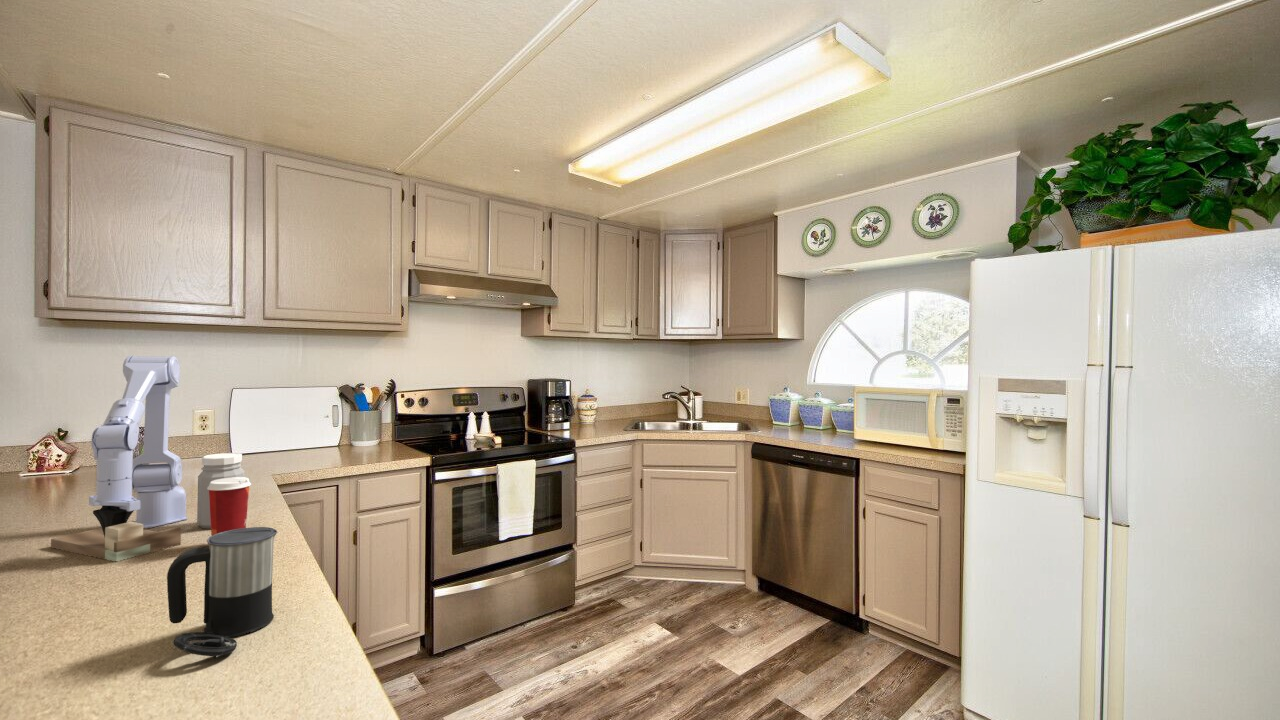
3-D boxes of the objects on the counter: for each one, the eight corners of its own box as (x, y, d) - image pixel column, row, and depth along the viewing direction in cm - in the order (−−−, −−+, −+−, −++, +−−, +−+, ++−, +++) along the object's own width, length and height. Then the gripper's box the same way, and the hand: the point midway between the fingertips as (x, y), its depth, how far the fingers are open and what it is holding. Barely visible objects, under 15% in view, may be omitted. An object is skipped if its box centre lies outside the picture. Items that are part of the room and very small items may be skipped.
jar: (187, 527, 139) (188, 457, 139) (226, 517, 148) (227, 451, 148) (215, 531, 136) (216, 459, 136) (253, 520, 145) (254, 453, 145)
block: (130, 541, 121) (130, 521, 121) (142, 544, 120) (143, 524, 120) (104, 548, 117) (105, 527, 117) (117, 550, 116) (118, 529, 116)
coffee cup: (258, 539, 130) (259, 477, 130) (229, 551, 122) (230, 484, 122) (226, 537, 131) (227, 475, 131) (195, 549, 123) (196, 483, 123)
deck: (116, 532, 134) (117, 516, 134) (180, 544, 126) (180, 527, 126) (50, 547, 123) (51, 530, 123) (116, 561, 115) (116, 543, 115)
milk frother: (265, 607, 95) (266, 522, 95) (297, 637, 85) (298, 542, 85) (157, 638, 84) (159, 542, 84) (179, 677, 74) (181, 568, 74)
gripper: (71, 479, 119) (70, 541, 119) (112, 485, 114) (111, 549, 114) (111, 473, 125) (110, 532, 125) (152, 478, 120) (150, 539, 120)
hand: (113, 539), depth 120 cm, fingers closed
